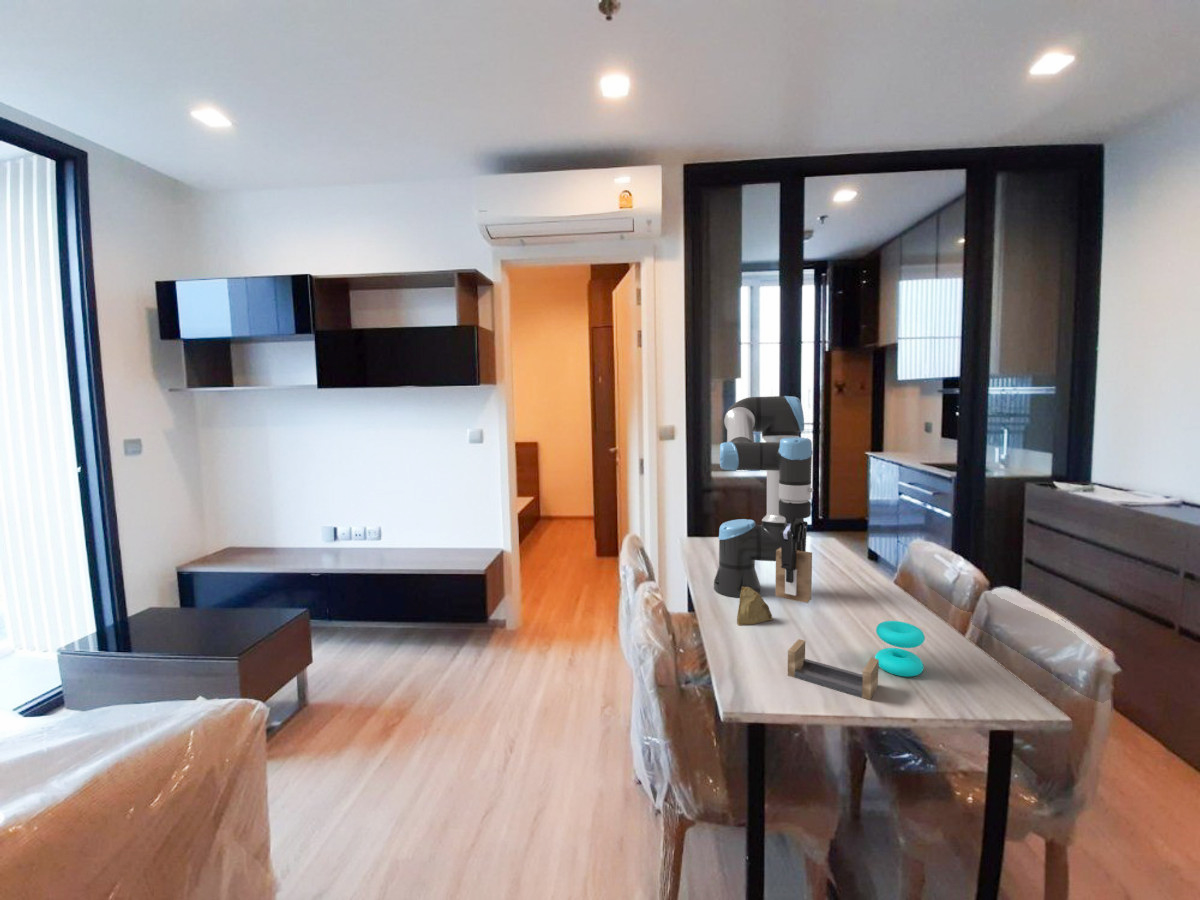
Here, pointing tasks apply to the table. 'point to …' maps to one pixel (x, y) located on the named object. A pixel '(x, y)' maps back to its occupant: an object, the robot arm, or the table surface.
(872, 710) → the table surface
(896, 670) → the donuts
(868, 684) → the frame posts
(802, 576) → the door panel
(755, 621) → the rock
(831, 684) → the track
